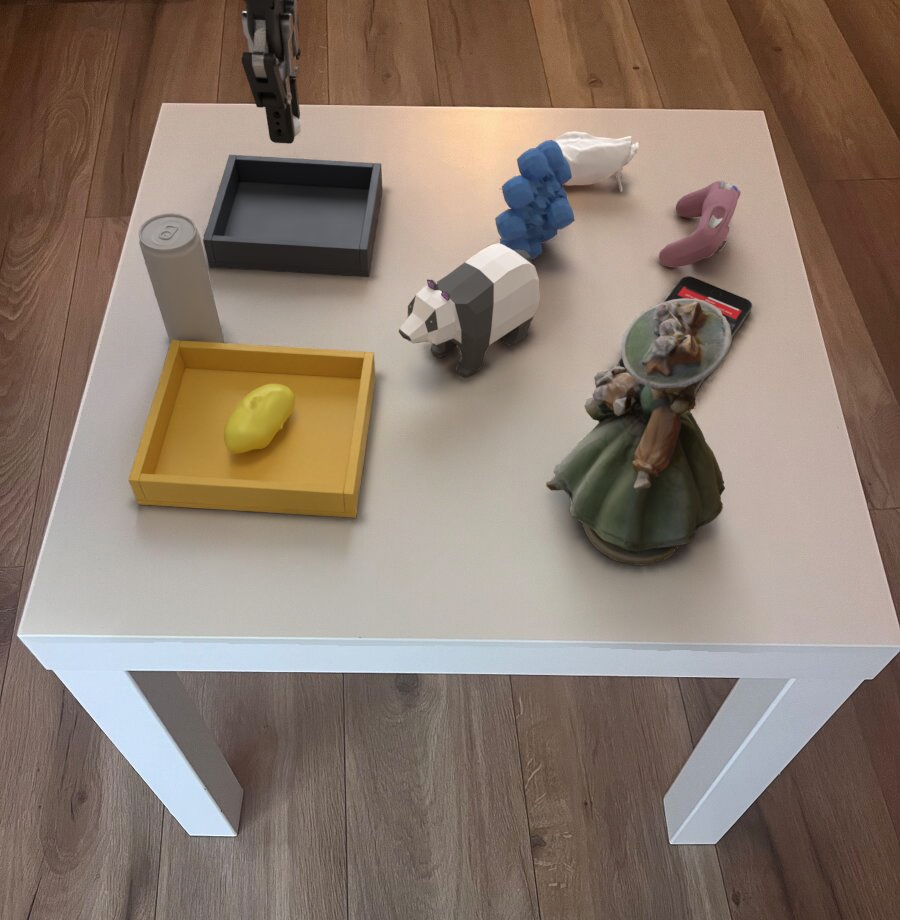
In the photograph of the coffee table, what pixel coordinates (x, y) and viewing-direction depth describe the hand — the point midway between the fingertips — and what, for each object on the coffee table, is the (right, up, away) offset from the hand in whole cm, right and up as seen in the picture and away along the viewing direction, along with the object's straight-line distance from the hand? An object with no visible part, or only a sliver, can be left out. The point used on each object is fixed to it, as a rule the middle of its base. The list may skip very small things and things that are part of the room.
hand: (285, 130), depth 83 cm
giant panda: (+17, -20, +1) cm, 26 cm away
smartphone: (+37, -19, +2) cm, 41 cm away
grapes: (+24, -9, +7) cm, 26 cm away
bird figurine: (+28, +1, +14) cm, 32 cm away
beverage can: (-8, -20, 0) cm, 21 cm away
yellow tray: (-1, -29, -6) cm, 30 cm away
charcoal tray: (0, -5, +9) cm, 10 cm away
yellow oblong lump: (-1, -29, -6) cm, 30 cm away
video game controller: (+40, -7, +9) cm, 41 cm away
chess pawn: (0, 0, 0) cm, 0 cm away
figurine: (+30, -35, -8) cm, 46 cm away
